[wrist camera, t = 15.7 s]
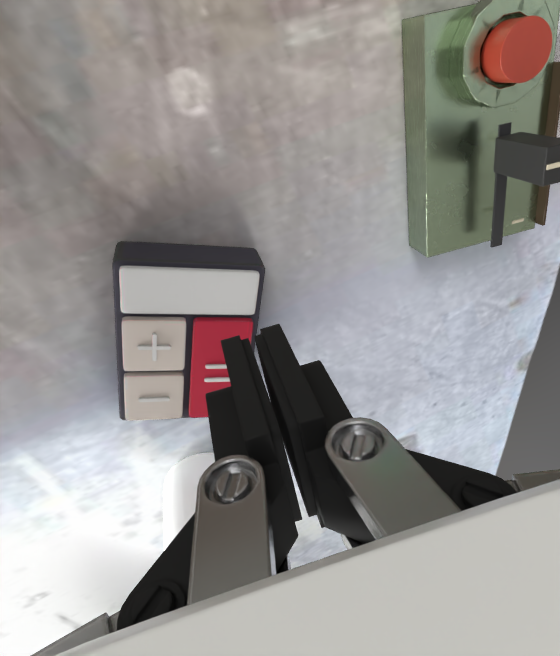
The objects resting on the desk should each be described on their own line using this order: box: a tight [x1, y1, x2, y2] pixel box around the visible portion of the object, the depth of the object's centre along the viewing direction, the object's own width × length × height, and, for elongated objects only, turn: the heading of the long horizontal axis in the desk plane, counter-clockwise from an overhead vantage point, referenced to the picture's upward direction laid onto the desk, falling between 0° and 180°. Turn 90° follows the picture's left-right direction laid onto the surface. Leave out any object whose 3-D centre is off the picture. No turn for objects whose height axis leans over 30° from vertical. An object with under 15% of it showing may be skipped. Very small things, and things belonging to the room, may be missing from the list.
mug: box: [163, 452, 215, 551], centre depth 45 cm, size 12×8×10 cm
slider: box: [494, 132, 560, 186], centre depth 30 cm, size 2×2×5 cm
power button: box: [481, 16, 552, 83], centre depth 29 cm, size 4×4×2 cm
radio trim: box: [491, 62, 560, 247], centre depth 35 cm, size 6×12×4 cm, turn 10°
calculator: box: [113, 241, 265, 421], centre depth 38 cm, size 11×4×15 cm
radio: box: [402, 0, 560, 258], centre depth 35 cm, size 10×17×5 cm, turn 10°
